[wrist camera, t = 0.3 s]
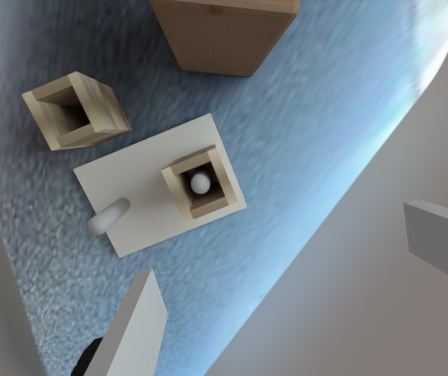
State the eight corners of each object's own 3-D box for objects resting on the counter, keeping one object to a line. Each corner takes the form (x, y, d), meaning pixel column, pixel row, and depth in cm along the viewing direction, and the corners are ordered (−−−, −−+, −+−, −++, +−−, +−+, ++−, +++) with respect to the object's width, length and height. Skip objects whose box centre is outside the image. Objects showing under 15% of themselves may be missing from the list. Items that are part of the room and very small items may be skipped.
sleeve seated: (173, 160, 37) (160, 170, 27) (214, 143, 37) (216, 147, 27) (191, 200, 38) (184, 223, 28) (230, 184, 38) (238, 201, 28)
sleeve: (71, 104, 37) (21, 94, 27) (112, 88, 37) (76, 71, 27) (92, 146, 38) (51, 150, 28) (131, 130, 38) (104, 128, 28)
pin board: (79, 167, 38) (29, 180, 28) (210, 113, 38) (210, 106, 27) (123, 252, 41) (93, 294, 30) (245, 203, 41) (258, 228, 30)
